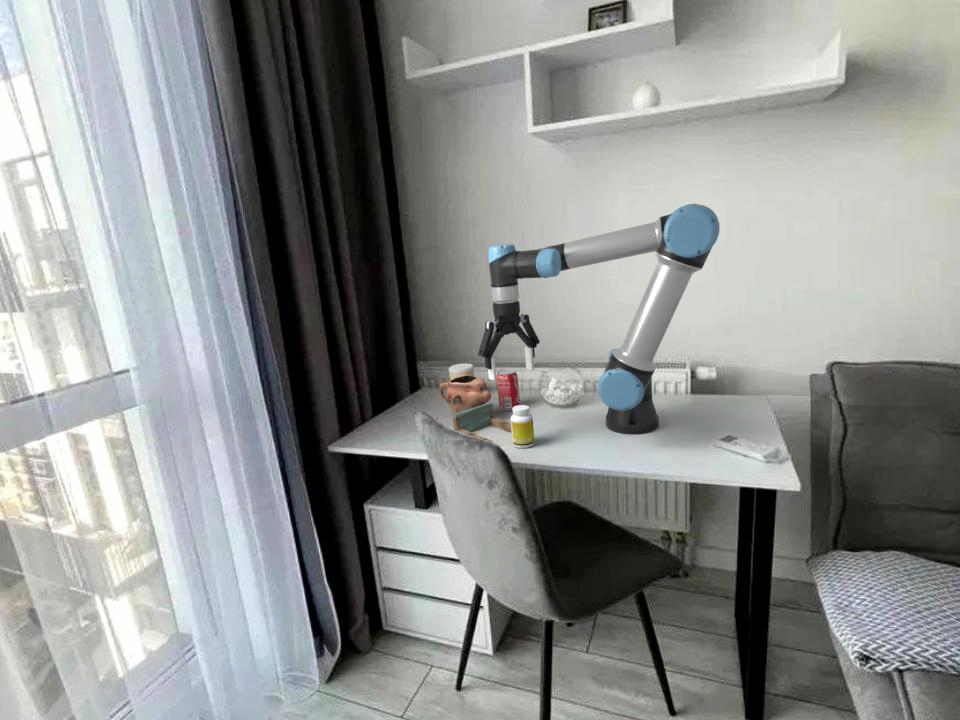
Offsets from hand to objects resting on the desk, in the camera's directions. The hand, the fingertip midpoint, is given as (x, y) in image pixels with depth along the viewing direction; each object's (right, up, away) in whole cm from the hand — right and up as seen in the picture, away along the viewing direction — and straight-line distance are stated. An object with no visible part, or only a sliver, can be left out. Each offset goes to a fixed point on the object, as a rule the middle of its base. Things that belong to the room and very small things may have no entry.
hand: (511, 374), depth 159 cm
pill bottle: (+3, -20, -3) cm, 20 cm away
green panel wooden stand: (-6, -18, +6) cm, 20 cm away
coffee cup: (-15, -10, +45) cm, 49 cm away
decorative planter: (-14, -15, +22) cm, 30 cm away
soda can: (+1, -13, +29) cm, 32 cm away
